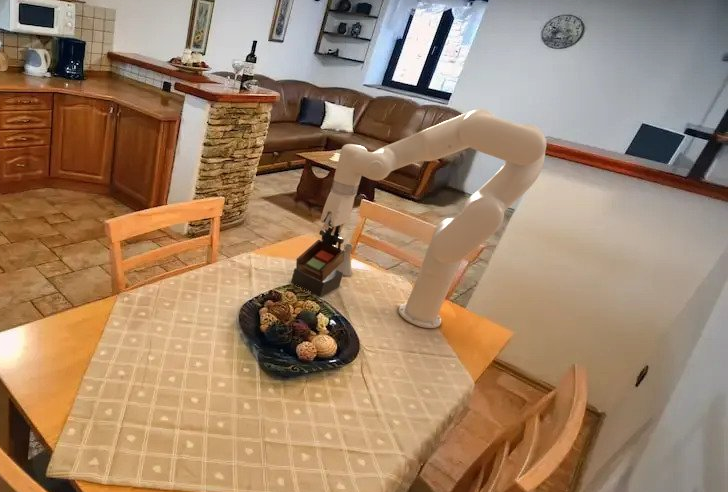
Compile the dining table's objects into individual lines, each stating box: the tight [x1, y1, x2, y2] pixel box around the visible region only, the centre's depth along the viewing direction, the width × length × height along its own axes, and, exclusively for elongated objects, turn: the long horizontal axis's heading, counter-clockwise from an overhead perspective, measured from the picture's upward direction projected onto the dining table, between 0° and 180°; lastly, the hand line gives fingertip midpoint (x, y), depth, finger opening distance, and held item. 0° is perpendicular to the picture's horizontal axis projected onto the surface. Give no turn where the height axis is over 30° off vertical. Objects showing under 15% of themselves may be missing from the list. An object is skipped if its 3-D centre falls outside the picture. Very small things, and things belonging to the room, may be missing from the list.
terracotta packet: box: [315, 250, 334, 264], centre depth 158 cm, size 3×5×2 cm
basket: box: [295, 229, 345, 282], centre depth 155 cm, size 12×10×8 cm
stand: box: [290, 267, 344, 298], centre depth 160 cm, size 12×11×5 cm
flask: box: [335, 242, 354, 276], centre depth 171 cm, size 7×7×10 cm
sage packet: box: [306, 258, 326, 273], centre depth 155 cm, size 3×5×2 cm
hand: (329, 244), depth 156 cm, fingers closed, pressing on basket
